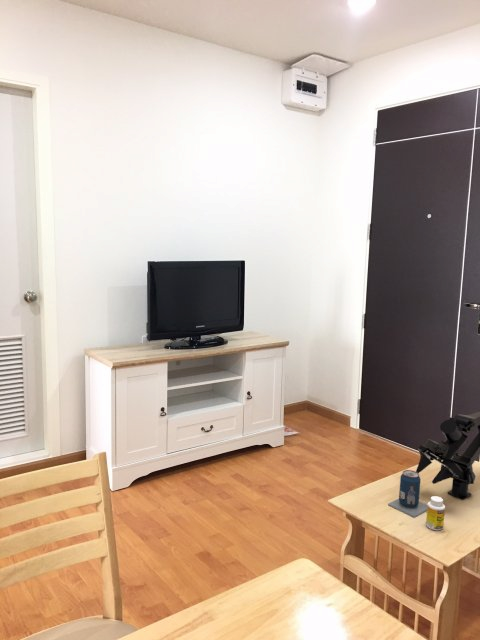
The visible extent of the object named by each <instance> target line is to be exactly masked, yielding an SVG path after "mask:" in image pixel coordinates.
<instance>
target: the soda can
mask: <svg viewBox="0 0 480 640" xmlns="http://www.w3.org/2000/svg"><path fill="white" fill-rule="evenodd" d="M420 490H421V478H420V474H419V473H417V472H416V470H415V471H414V470H413V469H412V470H411V469H409V470H408V469H406V470H403V471H402V474H401V475H400V481H399V493H398V499H399V501H400V503H401V505H402V506H404V507H406V508H415V507H416V506H417V505H418V503H419V501H420Z"/></svg>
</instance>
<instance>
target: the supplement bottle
mask: <svg viewBox="0 0 480 640" xmlns="http://www.w3.org/2000/svg"><path fill="white" fill-rule="evenodd" d="M427 505H428V507H427V511H426V521H425V525H426V527H427V528H428V529H430V530H433V531H441V530H442V529H444V524H445V523H444V521H445V514H446V512H445V511H446V505H445V504H444V499H443V498H442V497H441V496H437V495H434V496H433V495H432V496H431V497H430V501H428V502H427Z"/></svg>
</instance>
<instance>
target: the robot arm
mask: <svg viewBox="0 0 480 640" xmlns="http://www.w3.org/2000/svg"><path fill="white" fill-rule="evenodd" d="M439 428H440V431H441V432H442V434H443V435H444V437H445V438H446V439H445V440H440V441H439V442H437V441H435V440H433V439H430V438H428V439H427V441H426V443H425V444H421V445H419V446H418V448H417V449H418V453H419V455H420V457H419V458H420V459H419V462H418V465H417V467H416V470H415V472H417V473H418V474H419V473H421V472H422V471H423V470H425V469H426V468H427V467H428V466H430V465H431V464H432V463H433V462H432V461H437V462H438V463H440V464H441V465H440V470H439V471H438V473H437V474H436V475H435V476H434V478H433V479H432V481H431V483H432V484H434V485H435V484H438V483H440V482H442V481H445V480H448V479H452V483H451V490H448V491H447V494H448V495H450V496H454V497H456V498H458V499H460V500H466V499H467V498H469V497H471V496H472V493H471V492H469V485H474V484H475V481H476V474H475V472H474V467H473V465H474V463H475V461H476V460H477V458H478V457H479V456H480V410H478V411H477V412H473V413H471V414H467V415H466V414H460V413H459V414H456V415H454V416H453V417H451V416H450V417H449V419H446V420H444V421H442V422H441V424H440V426H439ZM476 428H477V434H476V435H475V436H474V438H473V439H472V441H470V443H469V436H468V435H467V434H472V433H474V431H476ZM465 433H467V434H465ZM465 444H467V445H468V446H467V447H466V449H465V450H464V451H463V452H462V453H461V454H459V453H458V452H459V451H460V449H462V447H463V446H464V445H465Z"/></svg>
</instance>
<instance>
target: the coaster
mask: <svg viewBox="0 0 480 640" xmlns="http://www.w3.org/2000/svg"><path fill="white" fill-rule="evenodd" d="M387 505H388V507H391V508H393V509H396V510H397V511H399V512H401V513H403V514H405V515H406V516H407V515H408V516H409V517H411V518H413V519H416V518H417V517H419V516H420V515H423V514H425V513H427V507H428V504H426V503H424V502H422V501H420V500H419V503H418V505H417V506H416V507H415V508H406V507H404V506H402V505H401V503H400V501H399V498H397V499H394V500H393V501H391V502H389V503H387Z"/></svg>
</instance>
